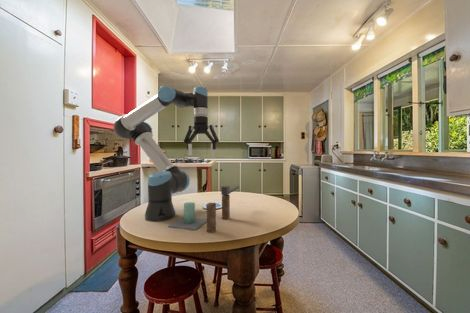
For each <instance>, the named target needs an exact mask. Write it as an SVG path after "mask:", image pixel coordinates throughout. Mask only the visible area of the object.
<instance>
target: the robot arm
mask: <svg viewBox="0 0 470 313" xmlns="http://www.w3.org/2000/svg"><path fill="white" fill-rule="evenodd" d="M208 94H209V93H208V89H207V87H205V86H194V88H193V90H192V91H191V92H184V91H181V90H179V89H176V88H174V87H172V86H169V85H168V86H167V85H161V86H160V87H159V88H158V90H157V94H156V95H154V96H153V97H151V98H150V99H148V100H147V101H145V102H144V103H142V104H141V105H140V106H138V107H136V108H135V109H133V110H131V111H130V112H129V113H127V114H122V115H121V116H119V117H118V118H117V119H116V120H115V122H114V123H113V131H114V133H115V134H116V136H117V137H119V138H121V139H123V140H132V141H133V143H134V144H135V146H140V147H141V149H142V151H143V152H144V153H145V154H146V156H147V157H148V158H149V160H150V162H152V164H153V166H154V167H155V168H156V169H157V171H156V172H152V173H150V174H149V175H148V177H147V199H148V200H147V201H148V204H147V207H146V211H145V213H144V220H145V221H149V222H164V221H167V220H171V219H173V218H175V217H176V210H175V207H174V204H173V200H172V199H173V196H172V195H173V194H177V193H180V192H183V191H185V190H186V189H187V188H189V185H190V181H191V179H190V178H191V177H190V175H189V173H187V172H186V171H183V170H181V169H180V168H179V167H178V166H177V165H173V164H174V163H172V161H171V160H170V159H169V158H168V157H167V155H166V154H165V152H164V151H163V150H162V148H161V147H160V146H159V145H158V143H157V142H156V141H155V140H154V138H153V136H154V135H153V128H152V126H151V124H149V123H148V122H146V120H149V119H150V118H152V117H153V116H154V115H156V114H157V113H160V112H161V111H162V110H163V109H166V108H167V107H168V106H170V105H172V104H173V105H175V107H176V108H183V109H184V108H189V107H190V108H191V107H193V125H188V130H187V132H186V134H185V137H184V139H183V142H184V144H186V149H187V152H188V153H187V155H188V156H189V157H190V156H193V143H192V142H193V140H195V138H196V137H197V136H198V135H201V134H202V135H206V137H207V138H208V140H209V141H210V142H211V143H210V156H211V157H212V156H213V157H214V156H215V150H216V149H217V146H216V145H217V143H219V142H220V140H219V137H218V136H217V133H216V131H215V129H214V127H215V126H214V125H213V124H209V118H208V116H209V109H208V105H209V104H208V100H209V99H208V98H209V95H208ZM208 124H209V125H208ZM208 129H209V130H210V132H209V131H208ZM210 133H211V134H210Z"/></svg>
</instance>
